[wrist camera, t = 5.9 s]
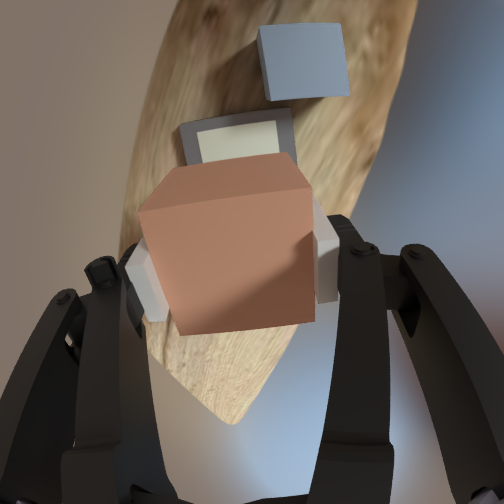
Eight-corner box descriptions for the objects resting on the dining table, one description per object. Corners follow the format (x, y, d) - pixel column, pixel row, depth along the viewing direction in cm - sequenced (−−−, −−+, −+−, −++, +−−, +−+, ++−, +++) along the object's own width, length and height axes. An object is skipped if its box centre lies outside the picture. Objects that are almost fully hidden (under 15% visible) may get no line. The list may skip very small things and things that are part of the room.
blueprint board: (288, 106, 25) (291, 107, 24) (298, 195, 29) (300, 200, 28) (181, 123, 25) (178, 125, 24) (200, 209, 30) (198, 215, 29)
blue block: (321, 35, 21) (340, 23, 16) (329, 93, 24) (350, 95, 19) (256, 39, 21) (259, 26, 16) (265, 99, 24) (271, 101, 19)
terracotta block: (286, 151, 15) (312, 187, 9) (294, 251, 18) (314, 321, 13) (173, 168, 15) (136, 212, 10) (195, 263, 18) (180, 335, 13)
